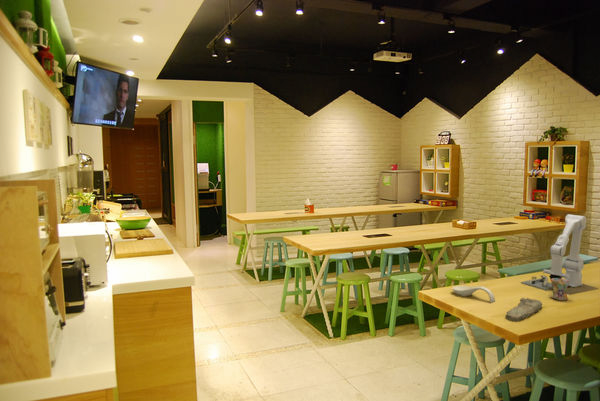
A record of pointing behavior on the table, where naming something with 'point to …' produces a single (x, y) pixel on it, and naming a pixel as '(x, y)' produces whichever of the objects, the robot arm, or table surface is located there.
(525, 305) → the elongated rock
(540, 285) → the mat
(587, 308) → the table surface
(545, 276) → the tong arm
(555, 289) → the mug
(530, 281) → the base
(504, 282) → the table surface
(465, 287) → the spoon rest
